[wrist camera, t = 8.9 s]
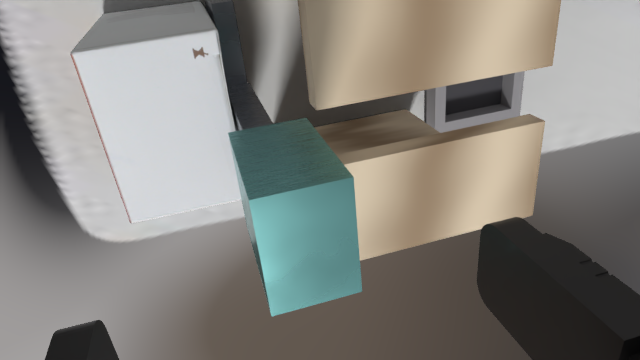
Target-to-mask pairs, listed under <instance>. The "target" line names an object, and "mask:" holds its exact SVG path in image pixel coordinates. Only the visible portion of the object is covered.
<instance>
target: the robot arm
mask: <svg viewBox="0 0 640 360" xmlns="http://www.w3.org/2000/svg"><path fill="white" fill-rule="evenodd" d="M478 260H479V261H478V272H477V285H478V290H479V293H480V295H481V298H482V300H483V302H484V303H485V305H486V306H487V308H488V309H489V310H490V311H491V312H492V313H493V315H494V316H495V317H496V318H497V319H498V320H499V321H500V323H501V324H502V325H503V326H504V327H505V329H506V330H507V331H508V332H509V333H510V334H511V335H512V337H513V338H514V339H515V340H516V341H517V342H518V344H519V345H520V346H521V347H522V348H523V349H524V351H525V352H526V353H527V354H528V355H529V356H530V357H531V359H532V360H640V295H639V294H637V293H636V292H635V291H633V290H632V289H631V288H629V287H628V286H627V285H625V284H624V283H623V282H621V281H620V280H619V279H618V278H616V277H615V276H613V275H609V274H608V271H607V270H606V269H604V268H603V267H602V266H600V265H599V264H598V263H596V262H592V260H591V258H590V257H588V256H587V255H585V254H584V253H583V252H582V251H580V250H579V249H578V248H576V247H575V246H574V245H572V244H571V243H568V242H566V241H564V240H561V239H559V238H557V237H554V236H552V235H549V234H547V233H545V234H542V233H540V232H539V231H538V230H537V229H535V228H534V227H533V226H531V225H530V224H529V223H528V222H526V221H525V220H524V219H522V218H520V217H513V218H509V219H505V220H501V221H497V222H493V223H489V224H486V225H484V226H483V228H482V230H481V235H480V247H479V259H478ZM45 360H119V358H118V355H117V353H116V351H115V348H114V346H113V344H112V341H111V339H110V336H109V334H108V332H107V329H106V327H105V325H104V324H103V322H102V321H100V320H96V321H92V322H88V323H84V324H80V325H76V326H72V327H68V328H64V329H60V330H57V331H56V332H55V333H54V334H53V336H52V339H51V342H50V345H49V348H48V352H47V355H46V358H45Z"/></svg>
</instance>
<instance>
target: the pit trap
mask: <svg viewBox="0 0 640 360" xmlns="http://www.w3.org/2000/svg"><path fill="white" fill-rule="evenodd" d="M523 81H524V71H522V72H516V73H511V74H506V75H500V76H495V77H490V78H485V79H479V80H474V81H469V82H464V83H458V84H453V85H448V86H443V87H437V88H432V89H427V90H425V123H427V124H428V125H430V126H431V127H433V128H434V129H436V130H437V131H438V132H440V133H442V132H447V131H452V130H457V129H461V128H466V127H471V126H475V125H480V124H485V123H490V122H494V121H499V120H504V119H509V118H513V117H518V116H520V109H521V100H522V90H523Z"/></svg>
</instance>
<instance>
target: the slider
mask: <svg viewBox="0 0 640 360" xmlns="http://www.w3.org/2000/svg"><path fill="white" fill-rule="evenodd" d="M205 3H206V8H207V12H208V14H209V16H210V18H211V20H212V22H213V23H214V25H215V27H216V28H217V30H218V33H219V41H220V47H221V53H222V60H223V66H224V72H225V78H226V83H227V88H228V94H229V99H230V104H231V109H232V114H233V119H234V124H235V129H236V131H234V132H229V133H228V136H229V141H230V146H231V150H232V155H233V160H234V165H235V170H236V175H237V180H238V185H239V190H240V194H241V199H242V204H243V209H244V214H245V219H246V224H247V228H248V232H249V235H250V239H251V243H252V247H253V250H254V254H255V257H256V261H257V265H258V269H259V272H260V276H261V280H262V283H263V287H264V291H265V294H266V298H267V302H268V306H269V309H270V313H271V316H275V315H279V314H282V313H286V312H290V311H293V310H297V309H300V308H304V307H308V306H311V305H315V304H319V303H322V302H326V301H330V300H333V299H337V298H340V297H344V296H348V295H351V294H355V293H358V292H362V284H361V271H360V256H359V243H358V229H357V216H356V202H355V189H354V177H353V176H352V174H351V173H350V172H349V171H348V169H347V168H346V167H345V166H344V164H343V163H342V162H341V161H340V159H339V158H338V157H337V156H336V154H335V153H334V152H333V151H332V149H331V148H330V147H329V146H328V144H327V143H326V142H325V141H324V139H323V138H322V137H321V136H320V134H319V133H318V132H317V131H316V129H315V128H314V127H313V126H312V124H311V123H310V122H309V121H308V119H307V118H302V119H296V120H291V121H286V122H281V123H276V124H273V123H272V121H271V119H270V118H269V116H268V114H267V112H266V111H265V109H264V107H263V106H262V104H261V102H260V100H259V99H258V97H257V95H256V94H255V92H254V90H253V88H252V87H251V85H250V83H247V79H246V73H245V67H244V61H243V56H242V50H241V44H240V38H239V33H238V27H237V21H236V15H235V10H234V4H233V1H232V0H205Z"/></svg>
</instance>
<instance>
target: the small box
mask: <svg viewBox="0 0 640 360" xmlns="http://www.w3.org/2000/svg"><path fill="white" fill-rule="evenodd" d="M71 57H72V59H73V62H74V65H75V68H76V71H77V74H78V76H79V79H80V82H81V85H82V88H83V90H84V93H85V96H86V99H87V102H88V105H89V107H90V110H91V113H92V116H93V119H94V122H95V124H96V127H97V130H98V133H99V136H100V138H101V141H102V144H103V147H104V150H105V153H106V155H107V158H108V161H109V164H110V167H111V169H112V172H113V175H114V178H115V181H116V184H117V187H118V189H119V192H120V195H121V198H122V201H123V203H124V206H125V209H126V212H127V215H128V218H129V221H130V223H137V222H141V221H146V220H151V219H155V218H160V217H165V216H169V215H174V214H178V213H183V212H188V211H192V210H197V209H202V208H206V207H211V206H216V205H220V204H225V203H230V202H234V201H239V200H242V199H241V194H240V190H239V185H238V180H237V175H236V170H235V165H234V160H233V155H232V150H231V146H230V141H229V136H228V133H229V132H234V131H236V129H235V124H234V119H233V114H232V109H231V104H230V99H229V94H228V88H227V83H226V78H225V72H224V66H223V60H222V53H221V47H220V41H219V33H218V30H217V28H216V27H215V25H214V23H213V22H212V20H211V18H210V16H209V14H208V12H207V11H206V9H205V7H204V6H203V4H202V3H201V2H200V1H194V2H188V3H180V4H172V5H165V6H157V7H150V8H143V9H135V10H128V11H120V12H113V13H106V14H103V15H102V16H101V17H100V18H99V19H98V21H97V22H96V23H95V24H94V25H93V27H92V28H91V29H90V30H89V31H88V32H87V34H86V35H85V36H84V37H83V38H82V39H81V40H80V42H79V43H78V44H77V45H76V46H75V48H74V49H73V50H72V52H71Z"/></svg>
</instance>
